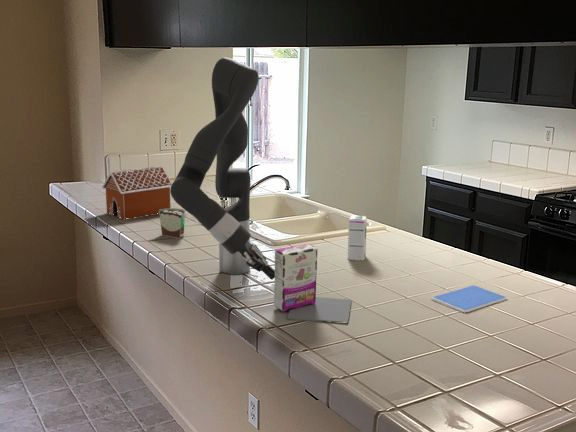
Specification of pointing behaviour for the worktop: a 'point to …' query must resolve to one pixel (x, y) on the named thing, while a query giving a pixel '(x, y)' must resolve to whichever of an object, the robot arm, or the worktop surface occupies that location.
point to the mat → (323, 310)
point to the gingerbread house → (137, 191)
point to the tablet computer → (469, 298)
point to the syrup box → (357, 237)
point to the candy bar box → (295, 277)
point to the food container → (172, 222)
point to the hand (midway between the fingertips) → (274, 276)
